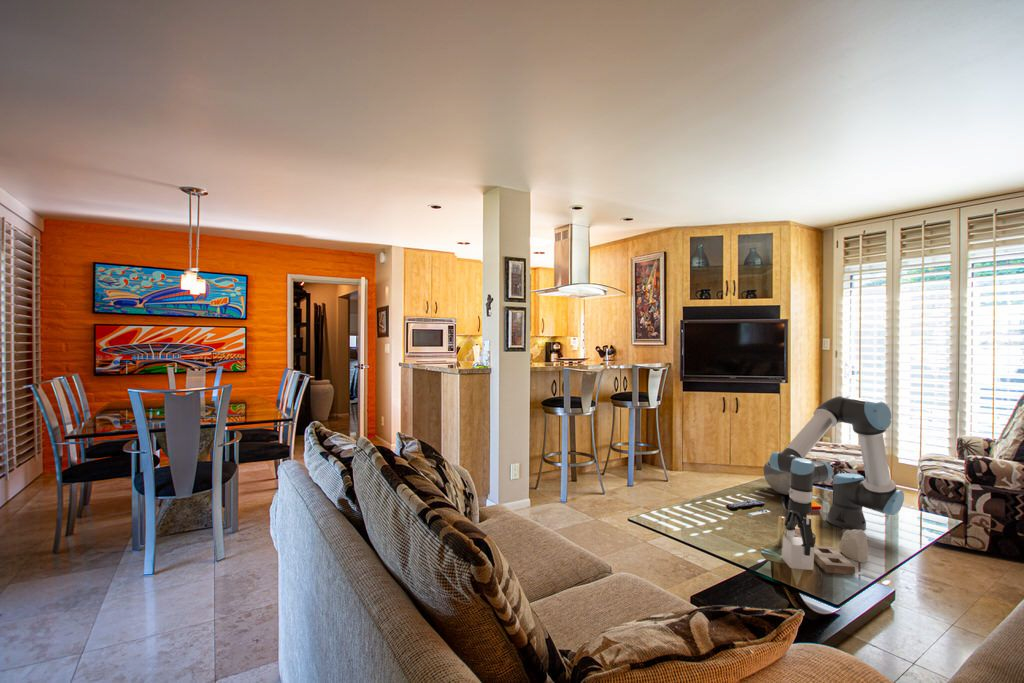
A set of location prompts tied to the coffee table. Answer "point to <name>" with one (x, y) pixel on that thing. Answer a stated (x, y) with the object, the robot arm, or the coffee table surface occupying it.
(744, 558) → the coffee table surface
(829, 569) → the socket board
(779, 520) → the pin
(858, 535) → the stone
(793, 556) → the cube
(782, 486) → the bowl
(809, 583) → the coffee table surface
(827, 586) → the coffee table surface
